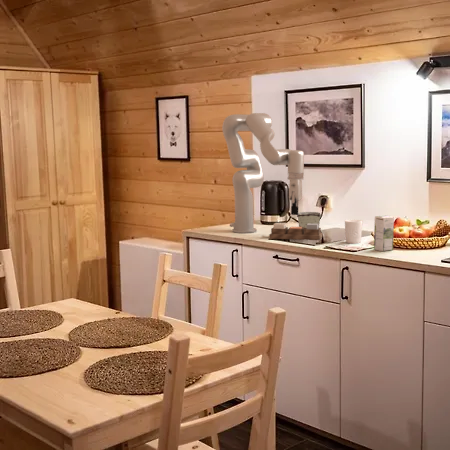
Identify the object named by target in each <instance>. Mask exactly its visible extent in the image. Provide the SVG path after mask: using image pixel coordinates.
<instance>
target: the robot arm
mask: <svg viewBox="0 0 450 450" xmlns="http://www.w3.org/2000/svg"><path fill="white" fill-rule="evenodd" d="M272 126H273V120H272V117H271V116H270V115H269V114H267V113H265V112H263V113H262V112H254V113H250V114H239V113H237V114H236V113H235V114H230V115H228V116H227V117H225V118H224V120H223V123H222V127H221V128H222V134H223V137H224V140H225V142H226V146H227V151H228V156H229V159H230V163H231V166H233V168H234V169H235V168H236V169H239V170H238V171H235V172H234V173H233V176H232V186H233V192H234V222H230V224H229V227H230V228H231V227H232V230H231V231H232V233H239V234H243V233H244V234H246V233H247V234H248V233H249V234H251V233H256V232H258V231H257V230H258V229H257V228H256V227H254V195H253V193H252V190H251V189H254V188H255V189H256V188H260V187H261V186H262V185H263V184H264V181H265V180H264V173H263V168H262V165H261V159H260V156H259V154H258V153H257V151H256V150H254V149H249V148H248V149H246V147H245V143H244V139H243V138H242V137H241V135H240V134H239V133H238V132H251V133H252V134H253V136H254V137H255V138H256V139H257V141H258V142H259V143H260V144H259V147H260V148H259V149H260V152H261V154H262V156H263V157H264V158H265V160H266V161H267V162H268V163H269V164H270V165H272V166H287V180H289V184H288V185H289V188H288V198H289V199H288V200H289V201H290V204H291V206H290V207H291V208H290V209H291V211H290V215H292V216H297V215H298V213H299V201H301V200H302V199H303V180H304V176H305V175H304V173H305V172H304V169H305V167H304V166H305V165H304V164H305V152H304V151H303V150H296V149H289V148H285V149H284V148H283V149H281V148H280V149H277V148H275V146H274V145H273V144H272V141H273V139H274V138H275V132H274V130H273V129H272Z"/></svg>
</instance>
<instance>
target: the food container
mask: <svg viewBox="0 0 450 450" xmlns="http://www.w3.org/2000/svg"><path fill="white" fill-rule="evenodd" d="M321 217H322V213H321V212H318V211H317V212H316V211H302V212H298V215H296V218H297V221H298V227H304V229H305V228H307V224H308V223H311V224H319V225H320V222H321V221H320V220H321Z"/></svg>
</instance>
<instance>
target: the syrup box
mask: <svg viewBox="0 0 450 450" xmlns="http://www.w3.org/2000/svg"><path fill="white" fill-rule="evenodd" d="M394 224H395V218H394V216H391V215H378V216H374V237H373V238H374V239H373V243H374V244H373V250H374V251H378V252H379V251H380V252H387V251H389V252H390V251H393V250H394Z"/></svg>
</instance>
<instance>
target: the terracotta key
mask: <svg viewBox="0 0 450 450" xmlns="http://www.w3.org/2000/svg"><path fill="white" fill-rule="evenodd" d="M289 228H290V227H289ZM290 229H302V227H299V226H291V228H290Z"/></svg>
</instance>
